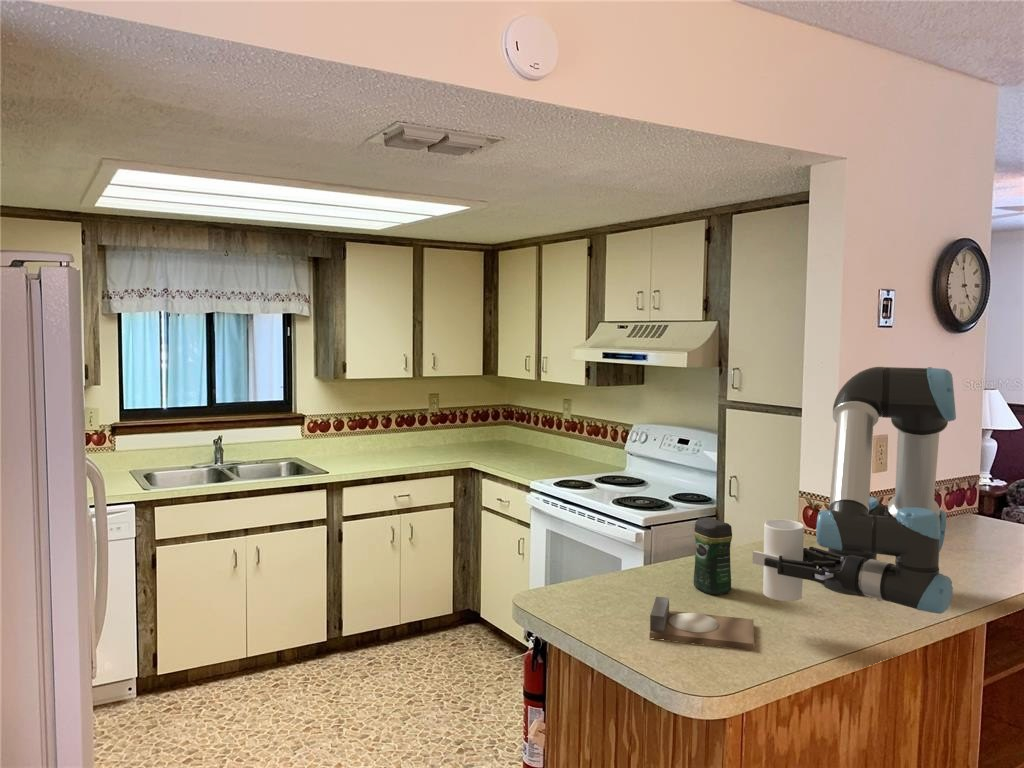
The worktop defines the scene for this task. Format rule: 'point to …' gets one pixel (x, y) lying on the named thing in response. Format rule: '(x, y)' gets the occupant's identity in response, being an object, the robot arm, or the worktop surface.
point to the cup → (788, 544)
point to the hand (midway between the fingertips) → (763, 552)
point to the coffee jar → (712, 556)
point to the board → (700, 627)
